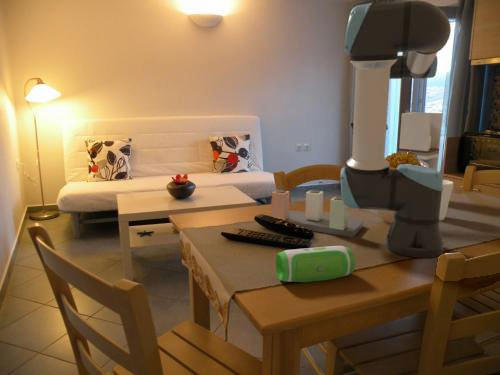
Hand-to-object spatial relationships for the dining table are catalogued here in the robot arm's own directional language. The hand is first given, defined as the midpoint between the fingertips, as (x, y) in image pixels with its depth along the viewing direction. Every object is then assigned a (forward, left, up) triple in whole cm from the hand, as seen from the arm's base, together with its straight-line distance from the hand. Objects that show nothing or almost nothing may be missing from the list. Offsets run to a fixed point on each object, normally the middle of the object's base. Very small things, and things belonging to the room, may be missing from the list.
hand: (360, 168), depth 138 cm
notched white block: (+6, -38, -18) cm, 43 cm away
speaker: (-29, +43, -18) cm, 55 cm away
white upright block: (+2, +18, -16) cm, 24 cm away
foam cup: (-14, -23, -18) cm, 32 cm away
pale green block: (-9, +17, -16) cm, 25 cm away
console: (+2, +18, -18) cm, 26 cm away
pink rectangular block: (+9, +27, -16) cm, 33 cm away
